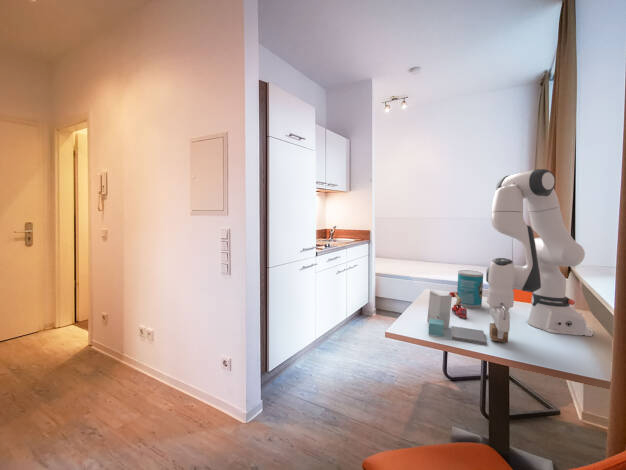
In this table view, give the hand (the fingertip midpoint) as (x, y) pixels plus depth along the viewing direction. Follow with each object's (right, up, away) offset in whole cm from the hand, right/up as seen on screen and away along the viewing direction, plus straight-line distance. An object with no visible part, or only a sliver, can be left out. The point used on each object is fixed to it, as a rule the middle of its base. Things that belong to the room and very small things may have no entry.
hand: (498, 334), depth 121 cm
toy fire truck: (-2, 0, +30) cm, 30 cm away
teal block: (-22, -2, +7) cm, 23 cm away
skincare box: (-17, -1, +16) cm, 23 cm away
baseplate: (-10, -2, +4) cm, 11 cm away
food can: (+11, +1, +44) cm, 46 cm away
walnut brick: (0, -2, 0) cm, 2 cm away
